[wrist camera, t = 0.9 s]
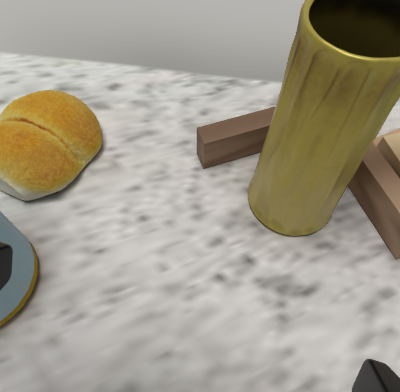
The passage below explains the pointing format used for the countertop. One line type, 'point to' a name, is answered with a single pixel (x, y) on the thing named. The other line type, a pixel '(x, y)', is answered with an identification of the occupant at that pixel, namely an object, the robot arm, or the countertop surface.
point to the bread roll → (45, 143)
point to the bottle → (17, 271)
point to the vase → (327, 111)
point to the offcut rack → (359, 184)
